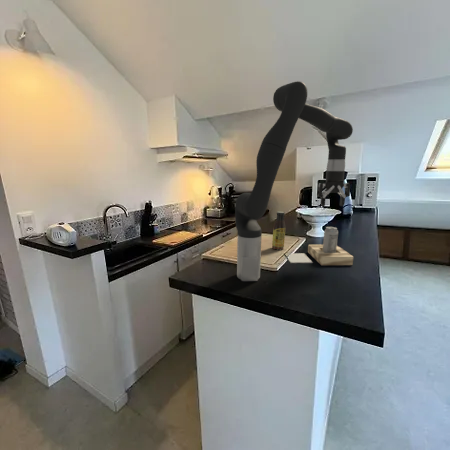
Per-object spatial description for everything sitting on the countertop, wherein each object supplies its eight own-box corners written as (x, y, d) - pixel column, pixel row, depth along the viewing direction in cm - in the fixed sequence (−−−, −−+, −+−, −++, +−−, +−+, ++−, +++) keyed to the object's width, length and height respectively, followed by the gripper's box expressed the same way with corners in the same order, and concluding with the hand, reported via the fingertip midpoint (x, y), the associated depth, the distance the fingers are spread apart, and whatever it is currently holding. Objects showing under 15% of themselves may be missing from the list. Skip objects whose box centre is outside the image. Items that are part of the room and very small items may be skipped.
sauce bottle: (275, 251, 135) (276, 213, 130) (269, 247, 141) (271, 211, 136) (286, 249, 136) (288, 212, 132) (280, 246, 142) (282, 210, 138)
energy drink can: (331, 255, 128) (334, 226, 124) (337, 260, 122) (341, 229, 119) (319, 256, 127) (322, 226, 124) (325, 260, 121) (328, 229, 118)
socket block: (352, 265, 116) (353, 256, 115) (321, 265, 116) (322, 256, 115) (334, 251, 133) (335, 244, 133) (307, 252, 133) (308, 244, 132)
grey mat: (312, 262, 118) (312, 262, 118) (290, 263, 118) (290, 262, 118) (303, 254, 130) (304, 253, 130) (284, 254, 130) (284, 253, 130)
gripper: (323, 170, 112) (320, 207, 116) (355, 170, 113) (351, 207, 116) (316, 170, 119) (314, 204, 123) (347, 169, 120) (343, 204, 124)
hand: (332, 205), depth 120 cm, fingers open, 8 cm apart
